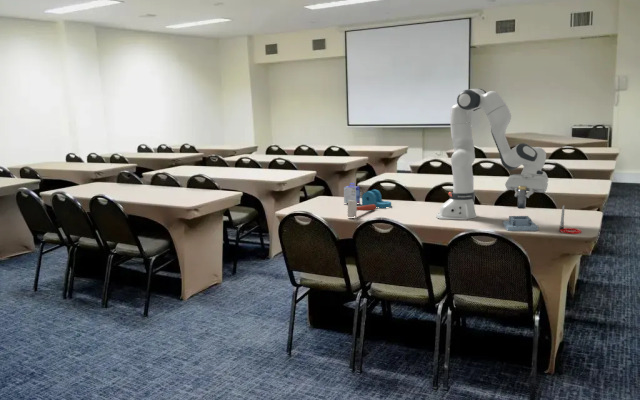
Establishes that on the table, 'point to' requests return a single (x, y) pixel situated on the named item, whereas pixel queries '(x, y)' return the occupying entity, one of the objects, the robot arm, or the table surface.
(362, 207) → the mallet
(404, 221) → the table surface
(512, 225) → the block
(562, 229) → the tow hook
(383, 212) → the table surface
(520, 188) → the key rod
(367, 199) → the camera mount
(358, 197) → the ink cartridge box
